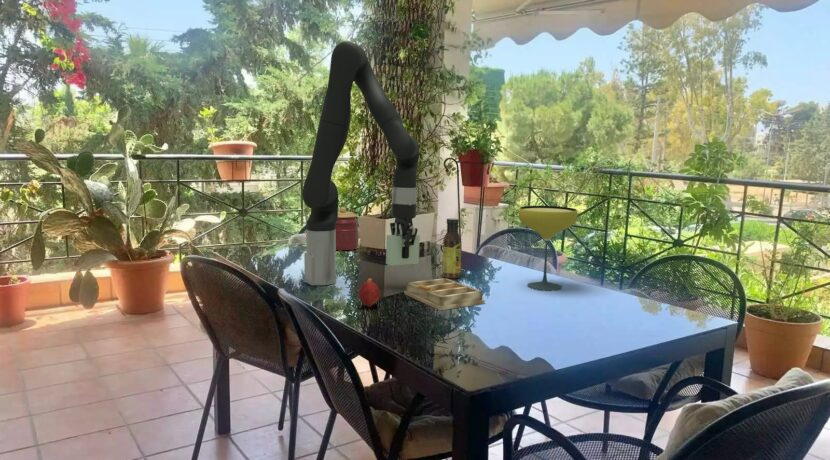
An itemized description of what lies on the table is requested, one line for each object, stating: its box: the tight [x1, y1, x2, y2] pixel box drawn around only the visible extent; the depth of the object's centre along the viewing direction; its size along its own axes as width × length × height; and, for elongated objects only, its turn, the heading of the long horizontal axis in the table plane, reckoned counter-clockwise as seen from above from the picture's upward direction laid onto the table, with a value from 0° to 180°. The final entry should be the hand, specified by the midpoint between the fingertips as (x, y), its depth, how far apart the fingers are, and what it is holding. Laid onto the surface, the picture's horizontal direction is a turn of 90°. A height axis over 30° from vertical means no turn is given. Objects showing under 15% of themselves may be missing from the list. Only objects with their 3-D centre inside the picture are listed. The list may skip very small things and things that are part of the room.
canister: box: [336, 206, 360, 252], centre depth 258 cm, size 13×13×18 cm
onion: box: [358, 278, 381, 308], centre depth 169 cm, size 6×6×8 cm
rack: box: [403, 277, 486, 311], centre depth 179 cm, size 15×20×4 cm
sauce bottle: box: [441, 217, 462, 279], centre depth 207 cm, size 6×6×20 cm
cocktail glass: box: [518, 205, 579, 292], centre depth 194 cm, size 18×18×25 cm
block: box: [385, 233, 421, 267], centre depth 191 cm, size 10×3×9 cm, turn 120°
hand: (402, 256), depth 191 cm, fingers closed on block, 3 cm apart
